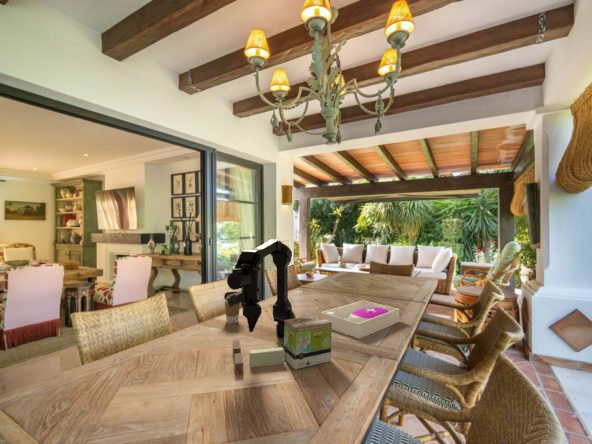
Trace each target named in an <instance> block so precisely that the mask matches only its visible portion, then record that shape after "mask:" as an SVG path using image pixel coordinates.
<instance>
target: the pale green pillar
mask: <svg viewBox="0 0 592 444" xmlns="http://www.w3.org/2000/svg"><path fill="white" fill-rule="evenodd" d="M284 363H285V359H284V347H272V348H263V349H252V350H249V368H257V367H265V366H273V365H283V364H284Z"/></svg>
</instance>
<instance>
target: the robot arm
mask: <svg viewBox="0 0 592 444" xmlns="http://www.w3.org/2000/svg"><path fill="white" fill-rule="evenodd" d="M269 255H270V256H271V257H272V263H273V265H274V267H275V268H276V301H275V303H274V304H273V305H272V317H273V322H276V324H275V334H276V336H277V338H279V339H284V325H285V320H289V319H296V318H297V317H296V314H295V313H294V311H293V308H292V307H293V304H292V303H291V302H290V300H289V283H288V282H289V280H288V277H289V276H288V273H289V272H288V270H289V269H288V267H289V265H290V264H291V261H292V256H293V251H292V249H291V248H290V247H289V245H287V244H285V243H283V242H282V241H281V240H280V239H269V240H267V241H266V242H264V243H263V244H261V245H259V246H256V247H255V248H246V249H243V250H242V251H240V254H239V257H238V258H237V261H236V264H235V266H234V268H232V269H231V271H232V272H231V273H230V274H229V275H228V277H227V279H226V283H227V285H228V288H230V290H232V291H235V292H236V293H233V294H231V295H228V296H227V297H226V299H227V302H228V304H229V307H232V306H233V305H235V304H238V303H240V306H241V307H242V316H243V317H245V318H246V321H247V322H246V323H247V325H248V331H249V333H253V332H254V330H255V328H256V325H257V323H258V321H259V319H260V316H261V315H262V310H263V309H262V305H261V304H259V303H260V299H259V292H260V288H259V272H260V271H262V268H261V267H260V265H261V264H262V263H263V262H264V258H266V257H267V256H269ZM240 289H241V290H240ZM236 290H240V291H236Z"/></svg>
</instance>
